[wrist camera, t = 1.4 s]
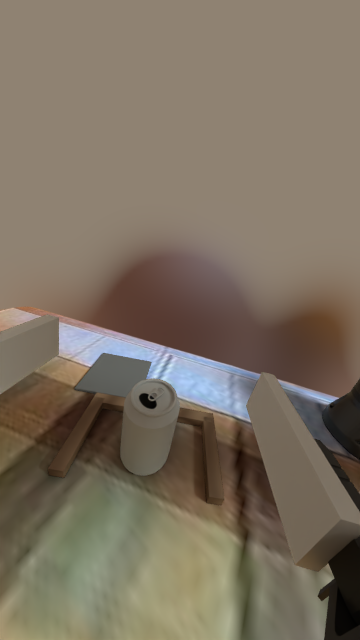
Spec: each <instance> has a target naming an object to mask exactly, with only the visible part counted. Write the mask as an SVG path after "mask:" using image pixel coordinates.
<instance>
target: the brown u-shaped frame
mask: <svg viewBox="0 0 360 640" xmlns="http://www.w3.org/2000/svg"><path fill="white" fill-rule="evenodd" d="M125 399H126V398H124V397H119V396H114V395H108V394H103V393H96V395H95V396H94V398H93V399H92V401H91V402H90V404H89V406H88V407H87V409H86V410H85V412H84V413H83V415H82V416H81V418H80V419H79V421H78V423H77V424H76V426H75V427H74V429H73V430H72V432H71V433H70V435H69V436H68V438H67V440H66V441H65V443H64V444H63V446H62V447H61V449H60V450H59V452H58V454H57V455H56V457H55V458H54V460H53V461H52V463H51V464H50V466H49V467H48V473H49V475H50V476H56V477H61V478H64V477H65V476H66V474H67V472H68V470H69V468H70V466H71V465H72V463H73V461H74V459H75V457H76V455H77V454H78V452H79V450H80V448H81V446H82V445H83V443H84V441H85V439H86V437H87V435H88V434H89V432H90V430H91V428H92V426H93V424H94V423H95V421H96V419H97V417H98V415H99V414H100V412H101V410H102V408H103V409H108V410H114V411H119V412H123V411H124V402H125ZM177 422H180V423H185V424H191V425H196V426H202V438H203V454H204V471H205V487H206V503H211V504H216V505H222V503H223V501H224V493H223V486H222V478H221V471H220V463H219V456H218V448H217V441H216V433H215V426H214V418H213V414H212V413H206V412H201V411H196V410H190V409H185V408H180V410H179V414H178V418H177Z"/></svg>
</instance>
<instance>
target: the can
mask: <svg viewBox="0 0 360 640" xmlns="http://www.w3.org/2000/svg"><path fill="white" fill-rule="evenodd" d="M179 410H180V402H179V400H178V398H177V394H176V391H175V389H174V388H173V387H172V386H171V385H170V384H169V383H167V382H166V381H163V380H160V379H146V380H143V381H140V382H139V383H137V384H136V385H135V386H134V387H133V388H132V390H131V391H130V392H129V394H128V395H127V396H126V399H125V402H124V411H123V422H122V434H121V445H120V456H121V460H122V462H123V465H124V466H125V467H126V468H127V469H128V470H129V471H130V472H132V473H134V474H136V475H142V476H146V475H150V474H153V473H155V472H156V471H158V470H159V469H161V468H162V466H163V465H164V463H165V462H166V460H167V457H168V454H169V451H170V447H171V442H172V438H173V434H174V430H175V426H176V422H177V418H178V414H179Z"/></svg>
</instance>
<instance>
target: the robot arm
mask: <svg viewBox="0 0 360 640" xmlns="http://www.w3.org/2000/svg"><path fill="white" fill-rule="evenodd" d="M57 355H59V317H55V316H51V315H48V314H47V315H44V316H42V317H39V318H36V319H34V320H31V321H28V322H25V323H23V324H20V325H17V326H15V327H12V328H9V329H7V330H4V331H1V332H0V394H1V393H3V392H4V391H6V390H7V389H9V388H10V387H12V386H13V385H15V384H16V383H18V382H19V381H20V380H22V379H23V378H25V377H26V376H28V375H29V374H31V373H32V372H34V371H35V370H37V369H38V368H40V367H41V366H42V365H44V364H45V363H47V362H48V361H50V360H51V359H53V358H54V357H56V356H57ZM246 407H247V410H248V414H249V417H250V420H251V423H252V427H253V430H254V433H255V436H256V440H257V443H258V446H259V450H260V453H261V456H262V459H263V463H264V466H265V469H266V472H267V476H268V479H269V482H270V486H271V489H272V492H273V495H274V499H275V502H276V505H277V508H278V512H279V515H280V518H281V522H282V525H283V528H284V531H285V535H286V538H287V541H288V544H289V548H290V551H291V554H292V558H293V561H294V564H295V565H296V566H300V567H303V568H307V569H310V570H314V571H317V572H319V571H320V570H321V569H322V568H323V567H324V566H326V565H327V564H328V563H329V566H330V568H331V570H332V573H333V575H334V578H335V579H333V580H332V581H331V582H330V583H328V584H327V585H326V586H325V587H323V588H322V589H321V590H320V592H319V594H318V597H319V599H320V600H321V601H323V600H324V599H325V598H327V597H328V596H329V601H328V610H327V619H326V628H325V637H324V640H360V494H359V493H358V491H357V490H356V488H355V487H354V485H353V484H352V483H351V482H350V481H349V480H350V479H349V478H348V476H347V475H346V473H345V472H344V470H342V469H341V466H340V464H339V463H338V461H337V460H336V458H335V457H334V455H333V454H332V453H331V452H330V451H329V450H328V448H327V447H326V446H325V445H324V444H323V443H322V442H321V441H320V440H317V439H314V438H313V436H312V435H311V433H310V432H309V430H308V428H307V427H306V425H305V424H304V422H303V420H302V419H301V417H300V416H299V414H298V412H297V411H296V409H295V408H294V406H293V404H292V403H291V401H290V400H289V398H288V396H287V395H286V393H285V392H284V390H283V388H282V387H281V385H280V384H279V382H278V380H277V379H276V377H275V376H274V375H272V374H268V373H264V372H262V373H261V375H260V377H259V380H258V382H257V384H256V386H255V388H254V390H253V392H252V394H251V396H250V398H249V400H248V403H247V405H246ZM323 420H324V423H325V425H326V426H327V428H328V430H329V431H330V432H331V434H332V435H333V436H334V437H335V438H336V439H337V440H338V441H339V442H340V443H341V444H342V445H343V446H344V447H345V448H346V449H347V450H348V451H349V452H351V453H352V454H353V455H354V456H356V457H357V458H358V459H360V379H359V380H358V382H357V383H356V385H355V386H354V387H353V389H352V390H351V391H350V392H349V393H347V394H346V395H344V396H342V397H341V398H339V399H337V400H335V401H334V402H332V403H330V404H329V405H328V406H327V407H326V409H325V410H324V412H323Z"/></svg>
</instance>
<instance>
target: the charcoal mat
mask: <svg viewBox="0 0 360 640" xmlns="http://www.w3.org/2000/svg"><path fill="white" fill-rule="evenodd" d="M150 366H151V362H149V361H144V360H139V359H133V358H128V357H123V356H117V355H112V354H107V353H103V354H102V355H101V357H100V358H99V359H98V360H97V362H96V363H95V364H94V365H93V366H92V368H91V369H90V370H89V371H88V372H87V374H86V375H85V376H84V377H83V379H82V380H81V381H80V382H79V383H78V385H77V386H76V387H75V390H78V391H83V392H89V393H94V394H96V393H103V394H108V395H114V396H119V397H124V398H126V396H127V395H128V394H129V392H130V391H131V390H132V388H133V387H134V386H135V385H136V384H137V383H139V382H140V381H143V380H146V377H147V374H148V371H149V368H150Z"/></svg>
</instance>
